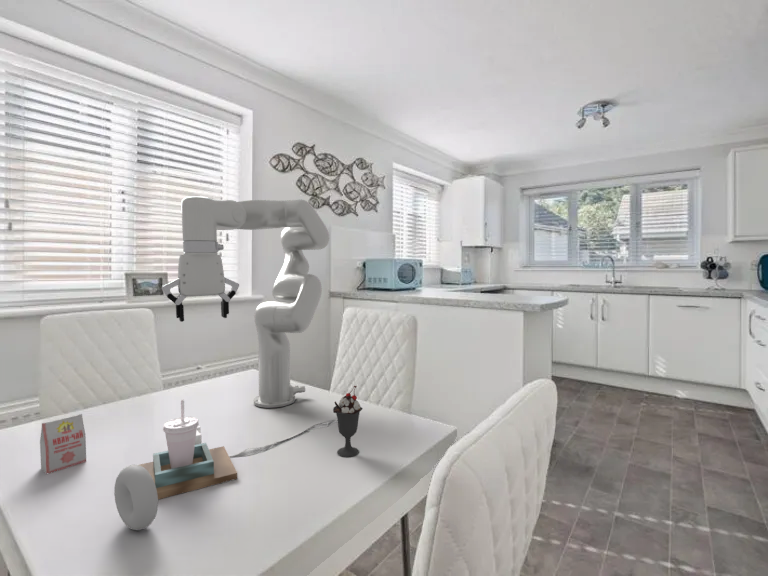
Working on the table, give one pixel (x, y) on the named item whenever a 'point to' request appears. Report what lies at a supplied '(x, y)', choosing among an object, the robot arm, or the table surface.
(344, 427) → the sundae
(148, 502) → the donut
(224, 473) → the holder board
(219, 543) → the table surface
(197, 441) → the white stepped block
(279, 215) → the robot arm
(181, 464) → the smoothie
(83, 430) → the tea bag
